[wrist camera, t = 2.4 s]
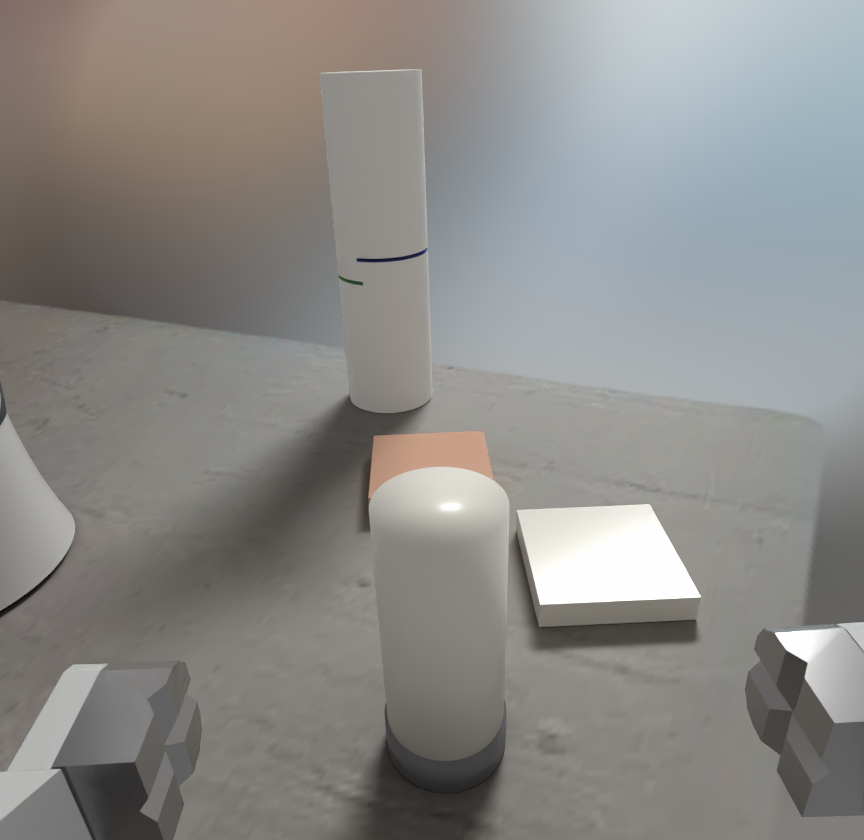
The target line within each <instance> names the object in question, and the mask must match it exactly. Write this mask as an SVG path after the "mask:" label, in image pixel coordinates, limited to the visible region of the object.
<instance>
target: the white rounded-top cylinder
mask: <svg viewBox="0 0 864 840" xmlns="http://www.w3.org/2000/svg"><path fill="white" fill-rule="evenodd" d="M369 520H370V531H371V542H372V553H373V564H374V575H375V586H376V597H377V608H378V619H379V630H380V641H381V652H382V663H383V674H384V685H385V696H386V704H385V723H386V734H387V744H388V751H389V755H390V758H391V760H392V762H393V764H394V766H395V767H396V769H397V770H398V772H399V773H400V774H401V775H402V776H403V777H404V778H405V779H407V780H408V781H409V782H410V783H412V784H414V785H416V786H417V787H420V788H422V789H425V790H428V791H432V792H438V793H455V792H460V791H465V790H468V789H470V788H473V787H475V786H477V785H479V784H480V783H482V782H483V781H485V780H486V779H487V778H488V777H489V776H490V775H491V774H492V773H493V772H494V771H495V769H496V768H497V767H498V765H499V763H500V761H501V759H502V756H503V753H504V749H505V736H506V704H505V700H504V685H505V648H506V612H507V575H508V539H509V500H508V497H507V495H506V493H505V491H504V490H503V489H502V488H501V486H500V485H498V484H497V483H496V482H495V481H493V480H492V479H490V478H488V477H486V476H484V475H482V474H480V473H477V472H474V471H471V470H467V469H462V468H455V467H428V468H421V469H416V470H412V471H408V472H405V473H402V474H400V475H397V476H395V477H393V478H391V479H390V480H388V481H386V482H385V483H384V484H382V485H381V486H380V487H379V488H378V489H377V490H376V491H375V493H374V494H373V496H372V497H371V500H370V503H369Z"/></svg>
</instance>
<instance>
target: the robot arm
mask: <svg viewBox="0 0 864 840" xmlns="http://www.w3.org/2000/svg"><path fill="white" fill-rule="evenodd" d="M74 533H75V523H74V519H73V517H72V515H71V513H70V512H69V511H68V510H67V508H66V507H65V506H64V505H63V504H62V503H61V502H60V500H59V499H58V498H57V497H56V495H55V494H54V493H53V491H52V490H51V489H50V487H49V486H48V485H47V483H46V482H45V480H44V479H43V477H42V476H41V474H40V473H39V471H38V470H37V468H36V466H35V465H34V463H33V461H32V460H31V458H30V456H29V455H28V453H27V451H26V450H25V448H24V446H23V444H22V442H21V440H20V439H19V437H18V435H17V433H16V431H15V429H14V427H13V425H12V423H11V421H10V419H9V417H8V415H7V412H6V406H5V401H4V396H3V391H2V387H1V383H0V611H1V610H2V609H4V608H6V607H7V606H9V605H10V604H12V603H13V602H15V601H16V600H18V599H19V598H21V597H22V596H24V595H25V594H26V593H28V592H29V591H30V590H32V589H33V588H34V587H35V586H37V585H38V584H39V583H40V582H41V581H42V580H43V579H44V578H46V577H47V576H48V575H49V574H50V573H51V572H52V571H53V570H54V568H55V567H56V566H57V565H58V564H59V563H60V561H61V560H62V559H63V557H64V556H65V554H66V553H67V551H68V549H69V547H70V546H71V543H72V541H73V537H74ZM754 649H755V651H756V653H757V655H758V656H759V658H760V660H761V661H760V662H759V663H758V664H756V665H755V666H754V667H753V668H752V669H751V670H750V671H749V672H748V677H747V682H746V687H745V692H746V701H747V709H748V712H749V715H750V718H751V721H752V724H753V726H754V728H755V730H756V732H757V734H758V736H759V738H760V740H761V741H762V742H763V743H765V744H766V745H768V746H769V747H770V748H772V749H773V750H774V751H776V752H777V753H778V754H780V757H779V762H778V767H777V772H778V774H779V775H780V777H781V779H782V781H783V783H784V785H785V787H786V788H787V790H788V792H789V794H790V796H791V798H792V799H793V801H794V803H795V805H796V807H797V809H798V811H799V812H800V814H801V816H802V817H826V816H859V815H861V816H862V815H864V622H862V623H846V624H835V625H830V624H828V625H812V626H797V627H782V628H766V629H763V630H762V631H761V632H760V633H759V635H758V636H757V640H756V644H755V647H754ZM190 680H191V679H190V676H189V673H188V670H187V667H186V664H185V663H184V662H180V661H161V662H126V663H109V664H80V665H72V666H71V667H70V668H68V669H67V670H66V671H65V672H64V673H63V674H62V675H61V677H60V679H59V680H58V682H57V684H56V686H55V687H54V689H53V691H52V692H51V694H50V696H49V698H48V699H47V701H46V703H45V705H44V706H43V708H42V710H41V712H40V713H39V715H38V717H37V718H36V720H35V722H34V724H33V725H32V727H31V729H30V731H29V732H28V734H27V736H26V737H25V739H24V741H23V743H22V744H21V746H20V748H19V750H18V751H17V753H16V755H15V757H14V758H13V760H12V762H11V763H10V765H9V767H8V769H7V770H6V771H5V772H0V840H173V838H174V835H175V831H176V828H177V825H178V822H179V818H180V815H181V812H182V809H183V805H184V802H183V799H182V796H181V793H180V790H179V787H180V786H181V785H182V784H183V783H184V782H185V781H186V780H187V779H188V778H189V777H190V776H191V775H192V774H193V773H194V769H195V766H196V762H197V759H198V755H199V750H200V741H201V732H202V728H201V715H200V711H199V707H198V703H197V701H195V700H194V699H193V698H191V697H190V696H189V695H187V694H186V692H187V689H188V686H189V683H190Z"/></svg>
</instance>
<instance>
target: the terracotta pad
mask: <svg viewBox="0 0 864 840" xmlns="http://www.w3.org/2000/svg"><path fill="white" fill-rule="evenodd" d="M428 467H455V468H462V469H467V470H471V471H474V472H477V473H480V474H482V475H484V476H486V477H488V478H490V479H492V480H493V481H494V479H493V474H492V470H491V465H490V460H489V455H488V450H487V446H486V441H485V436H484V431H470V432H446V433H423V434H400V435H376V436H374V439H373V451H372V462H371V473H370V485H369V496H368V500H369V503H370V500H371V497H372V496H373V494H374V493H375V491H376V490H377V489H378V488H379V487H380V486H381V485H382V484H384V483H385V482H386V481H388V480H390V479H391V478H393V477H395V476H397V475H400V474H402V473H405V472H408V471H412V470H416V469H421V468H428Z"/></svg>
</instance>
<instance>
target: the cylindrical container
mask: <svg viewBox="0 0 864 840" xmlns="http://www.w3.org/2000/svg"><path fill="white" fill-rule="evenodd" d="M319 79H320V90H321V99H322V110H323V120H324V131H325V140H326V151H327V162H328V172H329V182H330V192H331V203H332V213H333V224H334V234H335V243H336V255H337V265H338V273H339V284H340V285H339V286H340V296H341V306H342V317H343V327H344V338H345V348H346V358H347V369H348V379H349V389H350V399H351V402H352V403H353V404H354V405H355V406H357V407H358V408H360V409H363V410H366V411H370V412H376V413H398V412H405V411H409V410H413V409H415V408H418V407H420V406H422V405H424V404H426V403H427V402H428V401H429V400H430V399H431V397H432V366H431V335H430V306H429V277H428V250H427V216H426V189H425V156H424V128H423V99H422V98H423V97H422V71H421V70H385V71H357V72H332V73H319Z"/></svg>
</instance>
